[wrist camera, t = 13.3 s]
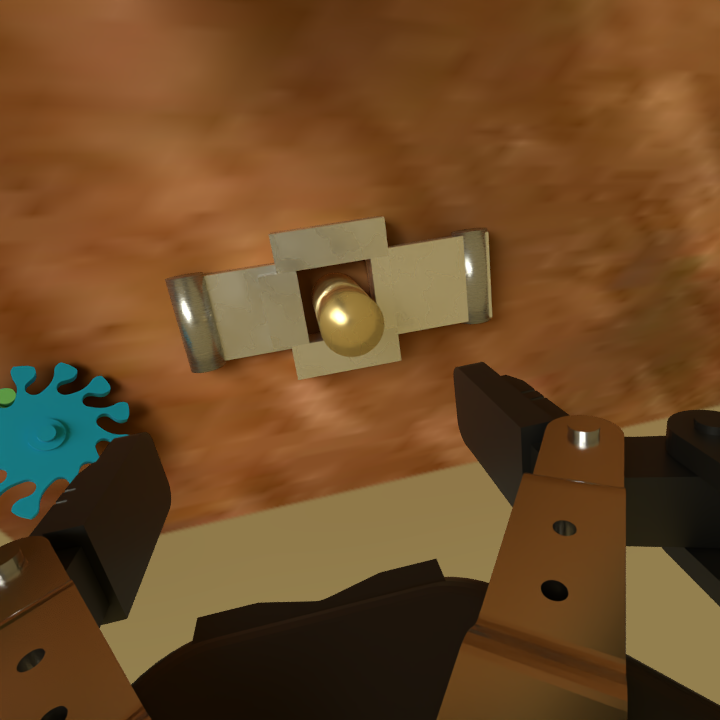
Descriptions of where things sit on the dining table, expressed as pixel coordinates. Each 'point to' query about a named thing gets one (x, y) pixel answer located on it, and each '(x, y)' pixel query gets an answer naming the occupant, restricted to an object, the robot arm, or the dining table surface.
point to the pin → (346, 315)
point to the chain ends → (323, 248)
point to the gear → (50, 432)
